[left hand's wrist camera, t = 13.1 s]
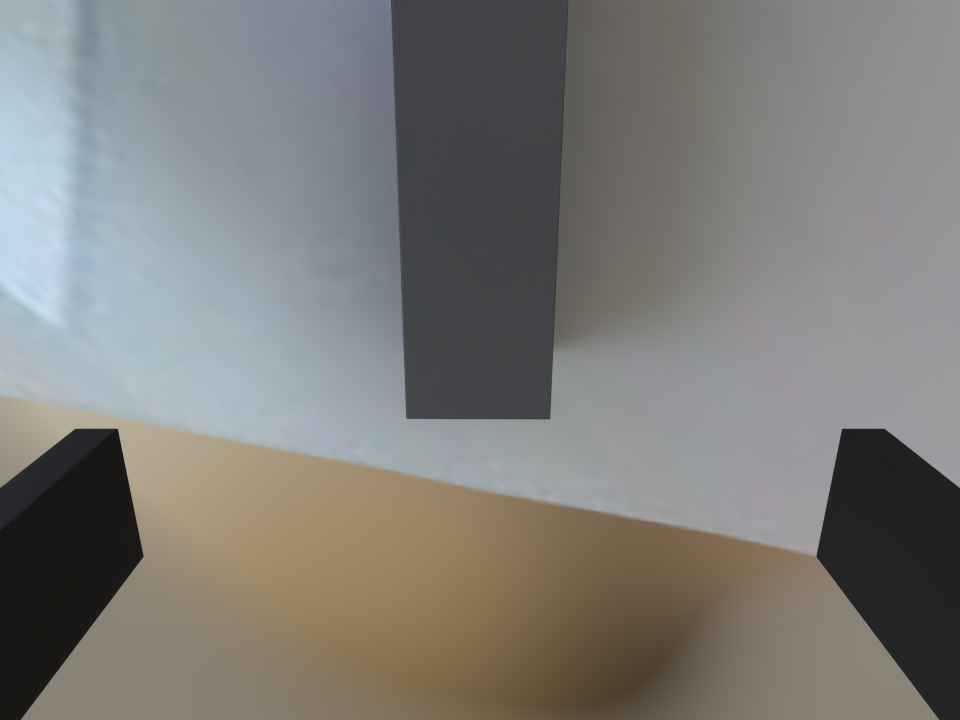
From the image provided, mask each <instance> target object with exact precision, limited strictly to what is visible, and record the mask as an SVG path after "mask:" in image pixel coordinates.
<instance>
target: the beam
mask: <svg viewBox="0 0 960 720" xmlns="http://www.w3.org/2000/svg"><path fill="white" fill-rule="evenodd" d="M391 9H392V37H393V65H394V92H395V120H396V147H397V175H398V202H399V230H400V257H401V285H402V313H403V340H404V368H405V395H406V418H407V419H550V408H551V385H552V362H553V339H554V316H555V293H556V270H557V247H558V223H559V200H560V177H561V154H562V131H563V108H564V85H565V62H566V39H567V15H568V0H391Z"/></svg>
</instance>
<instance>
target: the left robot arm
mask: <svg viewBox="0 0 960 720" xmlns="http://www.w3.org/2000/svg"><path fill="white" fill-rule="evenodd" d="M816 557H817V558H818V559H819V561H820V562H821V563H822V565H823V566H824V567H825V569H826V570H827V571H828V573H829V574H830V575H831V577H832V578H833V579H834V581H835V582H836V583H837V585H838V586H839V587H840V589H841V590H842V591H843V593H844V594H845V595H846V596H847V598H848V599H849V600H850V602H851V603H852V604H853V606H854V607H855V608H856V610H857V611H858V612H859V614H860V615H861V616H862V618H863V619H864V620H865V622H866V623H867V624H868V626H869V627H870V628H871V630H872V631H873V632H874V634H875V635H876V636H877V638H878V639H879V640H880V642H881V643H882V644H883V646H884V647H885V648H886V650H887V651H888V652H889V654H890V655H891V656H892V657H893V659H894V660H895V662H896V663H897V664H898V666H899V667H900V668H901V670H902V671H903V672H904V673H905V675H906V676H907V677H908V679H909V680H910V681H911V683H912V684H913V685H914V687H915V688H916V689H917V691H918V692H919V693H920V695H921V696H922V697H923V699H924V700H925V701H926V703H927V704H928V705H929V707H930V708H931V709H932V711H933V712H934V713H935V715H936V716H937V717H938V719H939V720H960V488H959V487H958V486H956V485H955V484H954V483H953V482H951V481H950V480H949V479H948V478H946V477H945V476H944V475H943V474H941V473H940V472H939V471H937V470H936V469H935V468H934V467H932V466H931V465H930V464H929V463H927V462H926V461H925V460H923V459H922V458H921V457H920V456H918V455H917V454H916V453H915V452H913V451H912V450H911V449H910V448H908V447H907V446H906V445H904V444H903V443H902V442H901V441H899V440H898V439H897V438H896V437H894V436H893V435H892V434H891V433H889V432H888V431H887V430H885V429H842V433H841V438H840V443H839V447H838V452H837V457H836V462H835V467H834V472H833V477H832V482H831V487H830V492H829V497H828V502H827V507H826V512H825V517H824V522H823V527H822V532H821V537H820V542H819V546H818V551H817V556H816ZM142 558H143V551H142V547H141V542H140V537H139V532H138V527H137V522H136V517H135V512H134V507H133V502H132V497H131V492H130V487H129V482H128V478H127V472H126V467H125V462H124V457H123V452H122V448H121V443H120V438H119V433H118V429H75V430H73V431H72V432H71V433H70V434H68V435H67V436H66V437H64V438H63V439H62V440H61V441H59V442H58V443H57V444H56V445H54V446H53V447H52V448H51V449H49V450H48V451H47V452H45V453H44V454H43V455H42V456H40V457H39V458H38V459H37V460H35V461H34V462H33V463H31V464H30V465H29V466H28V467H26V468H25V469H24V470H23V471H21V472H20V473H19V474H17V475H16V476H15V477H14V478H12V479H11V480H10V481H9V482H7V483H6V484H5V485H4V486H2V487H1V488H0V720H21V719H22V717H23V716H24V715H25V713H26V712H27V711H28V709H29V708H30V707H31V705H32V704H33V703H34V701H35V700H36V699H37V697H38V696H39V695H40V693H41V692H42V691H43V689H44V688H45V687H46V685H47V684H48V683H49V681H50V680H51V679H52V677H53V676H54V675H55V673H56V672H57V671H58V670H59V668H60V667H61V665H62V664H63V663H64V662H65V660H66V659H67V658H68V656H69V655H70V654H71V652H72V651H73V650H74V648H75V647H76V646H77V644H78V643H79V642H80V640H81V639H82V638H83V636H84V635H85V634H86V632H87V631H88V630H89V628H90V627H91V626H92V624H93V623H94V622H95V620H96V619H97V618H98V616H99V615H100V614H101V612H102V611H103V610H104V608H105V607H106V606H107V604H108V603H109V602H110V600H111V599H112V598H113V596H114V595H115V594H116V593H117V591H118V590H119V589H120V587H121V586H122V585H123V583H124V582H125V581H126V579H127V578H128V577H129V575H130V574H131V573H132V571H133V570H134V569H135V567H136V566H137V565H138V563H139V562H140V561H141V559H142Z"/></svg>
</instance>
